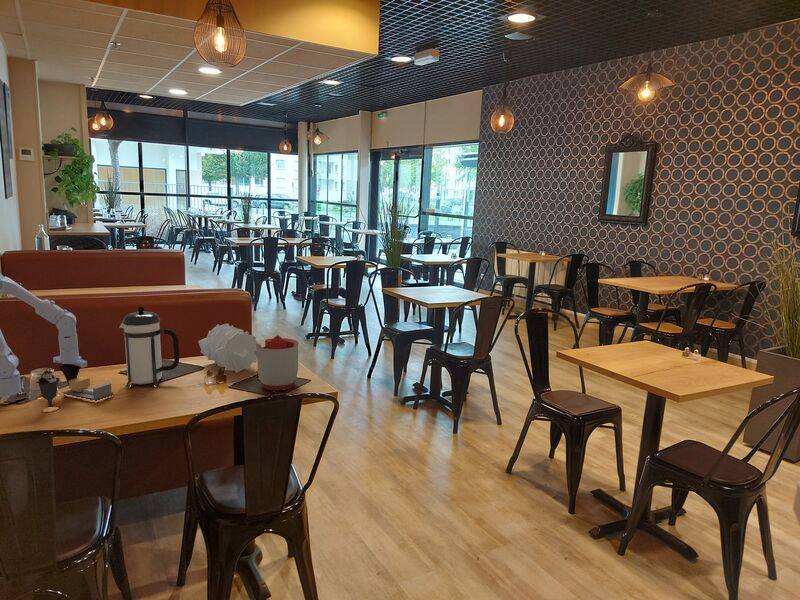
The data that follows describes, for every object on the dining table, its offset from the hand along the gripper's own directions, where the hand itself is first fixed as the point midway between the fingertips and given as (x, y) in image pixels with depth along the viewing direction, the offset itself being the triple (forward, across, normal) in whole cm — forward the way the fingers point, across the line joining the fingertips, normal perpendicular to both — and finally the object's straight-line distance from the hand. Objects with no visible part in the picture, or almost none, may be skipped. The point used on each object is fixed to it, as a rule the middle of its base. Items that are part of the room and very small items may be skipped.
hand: (72, 384), depth 200 cm
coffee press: (+4, -15, -20) cm, 25 cm away
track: (+3, -8, 0) cm, 9 cm away
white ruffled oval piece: (+4, -30, -50) cm, 58 cm away
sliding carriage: (+2, -4, 0) cm, 4 cm away
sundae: (+4, -8, +14) cm, 16 cm away
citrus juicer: (+4, -60, -38) cm, 71 cm away
